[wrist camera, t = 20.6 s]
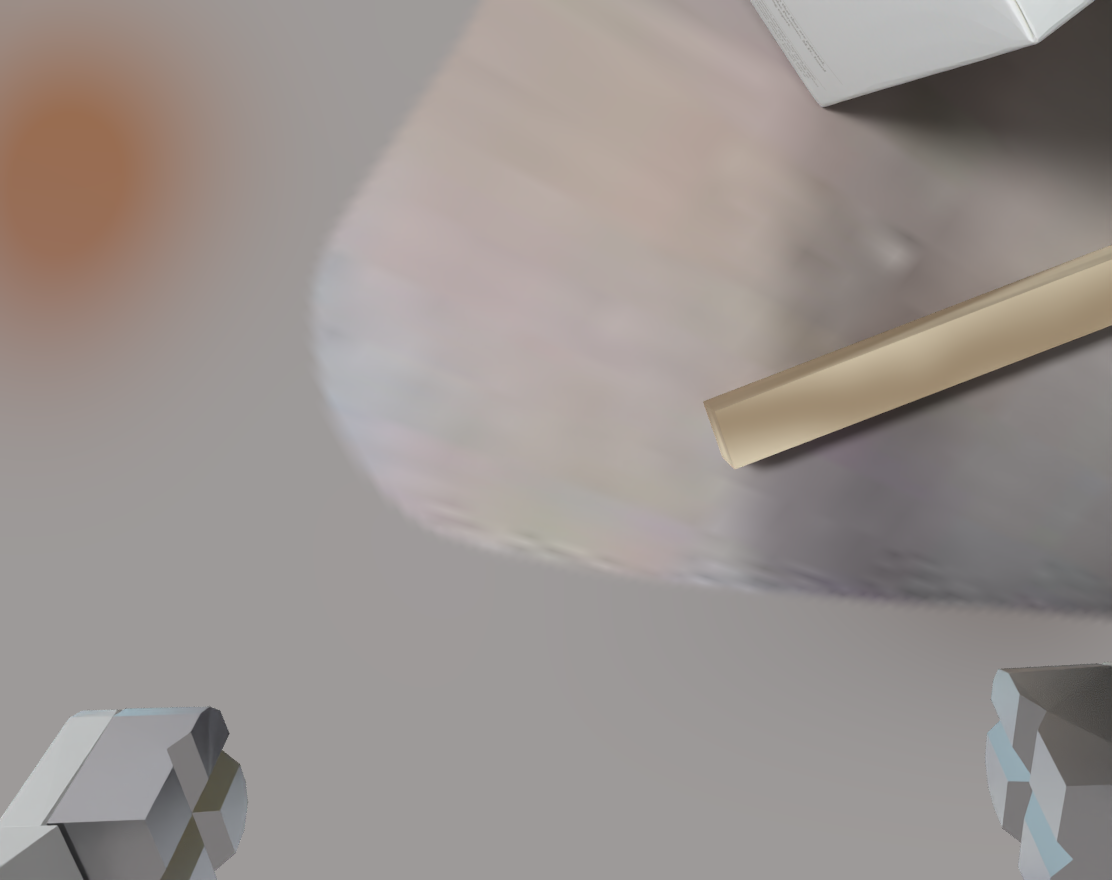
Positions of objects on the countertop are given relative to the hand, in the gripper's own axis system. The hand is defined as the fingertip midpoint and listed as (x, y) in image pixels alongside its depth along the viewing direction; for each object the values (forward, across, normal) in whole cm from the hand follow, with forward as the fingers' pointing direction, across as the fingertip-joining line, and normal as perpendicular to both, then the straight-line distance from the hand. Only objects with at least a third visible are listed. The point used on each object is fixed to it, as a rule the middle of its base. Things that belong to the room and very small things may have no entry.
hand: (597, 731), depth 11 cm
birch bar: (+30, -12, +9) cm, 34 cm away
